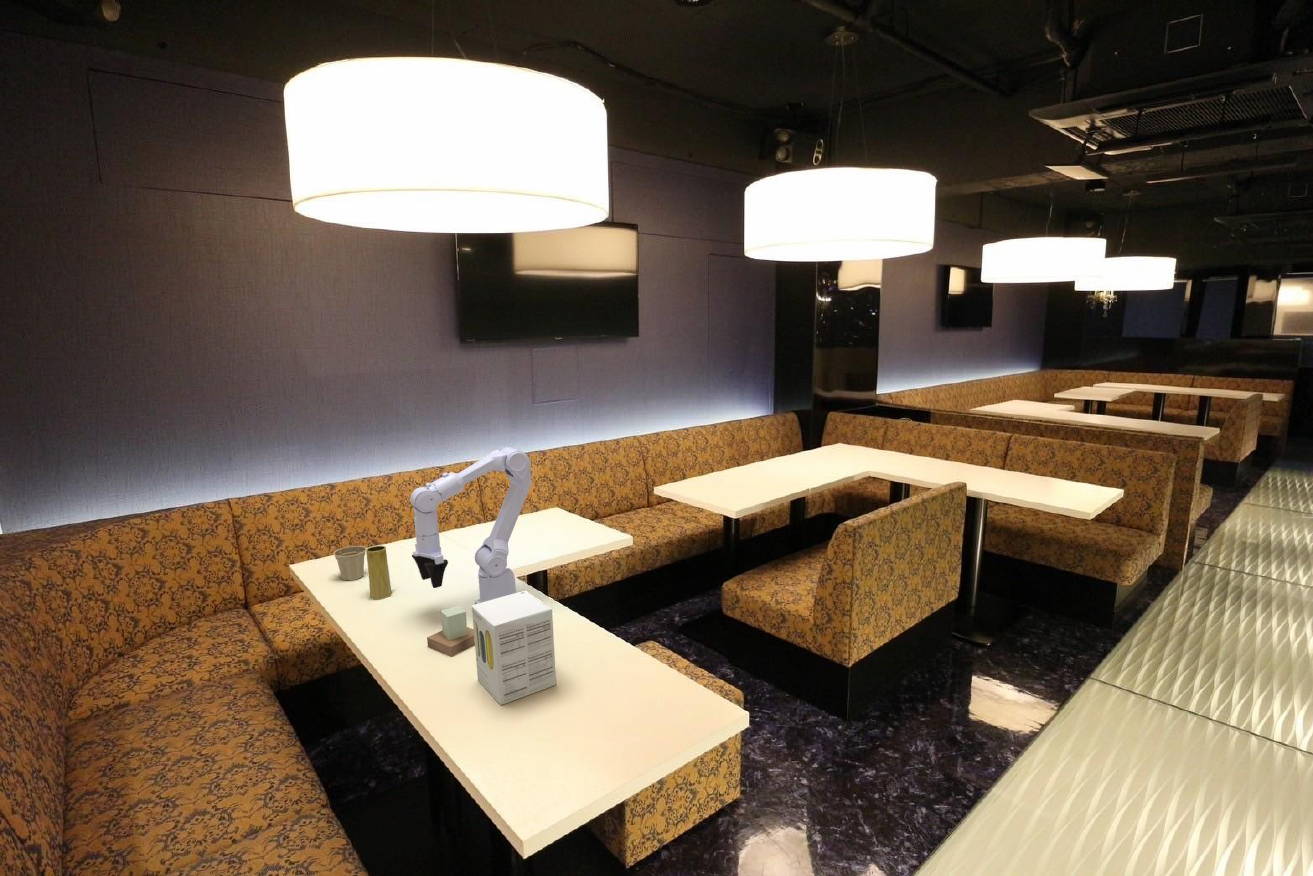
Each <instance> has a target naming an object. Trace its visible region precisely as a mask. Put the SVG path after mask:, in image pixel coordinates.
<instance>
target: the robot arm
mask: <svg viewBox="0 0 1313 876" xmlns="http://www.w3.org/2000/svg"><path fill="white" fill-rule="evenodd" d="M531 465H532V462H531V460H530V458H529V456H528V455H527V454H526V452H524V451H522V450H520V449H519V450H518V449H516V448H514V447H512V446H510V445H504V446H502V447H500V448H499V449H495V450H493V451H492V452H490V453H489V454H488V455H485V456H484V457H483V458H481V459H479V460H478V461H476V462H475V463H473V464H471V465H470V466H468V467H467V468H465V469H463V470H461V471H460V472H458V473H457V472H452V471H450V472H449V473H448V472H443V473H442V474H441V475H442V476H441V477H440V478H438V479H436V480H434V481H433V482H427V483H425V486H423V487H422V486H420V487H417V488H415V489H414V490H413V492H411V495H410V498H409V502H410V504H411V505H412V506H413V517H414V518H413V521H414V522H413V523H414V531H415V540H416V542H415V544H414V545H415V551H413V552H412V554H411V557H412V559H413V561H414V562H415V564H416V566H417V568H418V571H419V574H420V577H421V579H422V580H423V581H424V580H428V579H430V582H431V586H432V588H433V589H437V588H441V587H443V582H444V581H443V580H444V574H445V570H446V568H447V566H448V564H449V561H448V560H447V559H444V555H443V554H442V547H441V542H440V531H439V520H438V518H439V517H438V514H437V513H438V511H437V509H438V507H439V505H440V504H441V503H444V502H445V501H447V500H449V499H450V498H451V497H454V496H455V495H457V494H459V493H461V492H462V491H463V489H464V487H465V485H466V484H468V483H469V482H472V481H474V480H476V479H477V478H480V477H482V476H483V475H487V473H490V472H492V471H494V472H505V474H506V476H507V478H508V480H509V482H510V485H509V488H508V489H507V492H506V494H505V497H504V499H503V501H502V505H501V507H500V509H499V511H498V515H497V516H496V519H495V521H494V525H493V526H492V529H491V532H490V534H489V536H487V537H486V538H485V539H484V541H483V542H482V545H481V546H480V547H479V548H478V549H477V550H475V551H476V552H475V554H474V562H475V564H476V565H477V566H478V567H479V569H478V572H477V575H478V590H479V599H476V600H474V603H475V604H478V603H482V602H485V601H489V600H493V599H496V598H500V597H503V596H507V595H510V594H514V593H517V588H516V587H517V585H516V578H515V574H514V571H513V570H512V569H511V568H510V567H507V566H508V556H509V553H510V552H509V541H510V538H511V536H512V534H513V531H514V529H515V525H516V523H517V520H518V518H519V516H520V513H521V511H522V509H523V507H524V504H525V501H526V498H527V496H528V494H529V491H530V489H531V486H532V474H531V473H532V472H531Z"/></svg>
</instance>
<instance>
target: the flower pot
mask: <svg viewBox="0 0 1313 876" xmlns="http://www.w3.org/2000/svg"><path fill="white" fill-rule="evenodd" d="M367 549H368V548H367V547H365V546H364V545H363V546H362V545H354V546H346V547H343V548H339V549H337V550H335V551H334V552H333V556H334V557H335V560H336V561H337V562H336V563H337V565H338V569H339V573H340V576H341V579H342V580H343V581H349V582H350V581H356V580H359V579H361V578H362V577H364V571H365V555H366V550H367Z"/></svg>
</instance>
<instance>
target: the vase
mask: <svg viewBox="0 0 1313 876" xmlns="http://www.w3.org/2000/svg"><path fill="white" fill-rule="evenodd" d="M366 549H367V550H366V551H365V554H366V561H367V572H368V573H367V574H368V583H369V598H370V599H372V600H382V599H383V600H384V599H385V598H388V597H390V596H392V595H393V590H392V586H391V576H390V569H389V564H388V557H387V555H388V554H387V547H386V546H384V545H373V546H370V547H368V548H366Z"/></svg>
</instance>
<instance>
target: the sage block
mask: <svg viewBox="0 0 1313 876" xmlns="http://www.w3.org/2000/svg"><path fill="white" fill-rule="evenodd" d="M440 615H441V616H440V617H441V619H440V620H441V628H442V629H441V631H443V635H444V636H445V637H446V638H447V639H448V640H452V639H456V638H459V637H462V636H465V635H467V627H468V626H467V612H466V610H464V609H463V608H462V607H461V606H460V605H456V606H452V607H449V608H447V609H442V610H440Z"/></svg>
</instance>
